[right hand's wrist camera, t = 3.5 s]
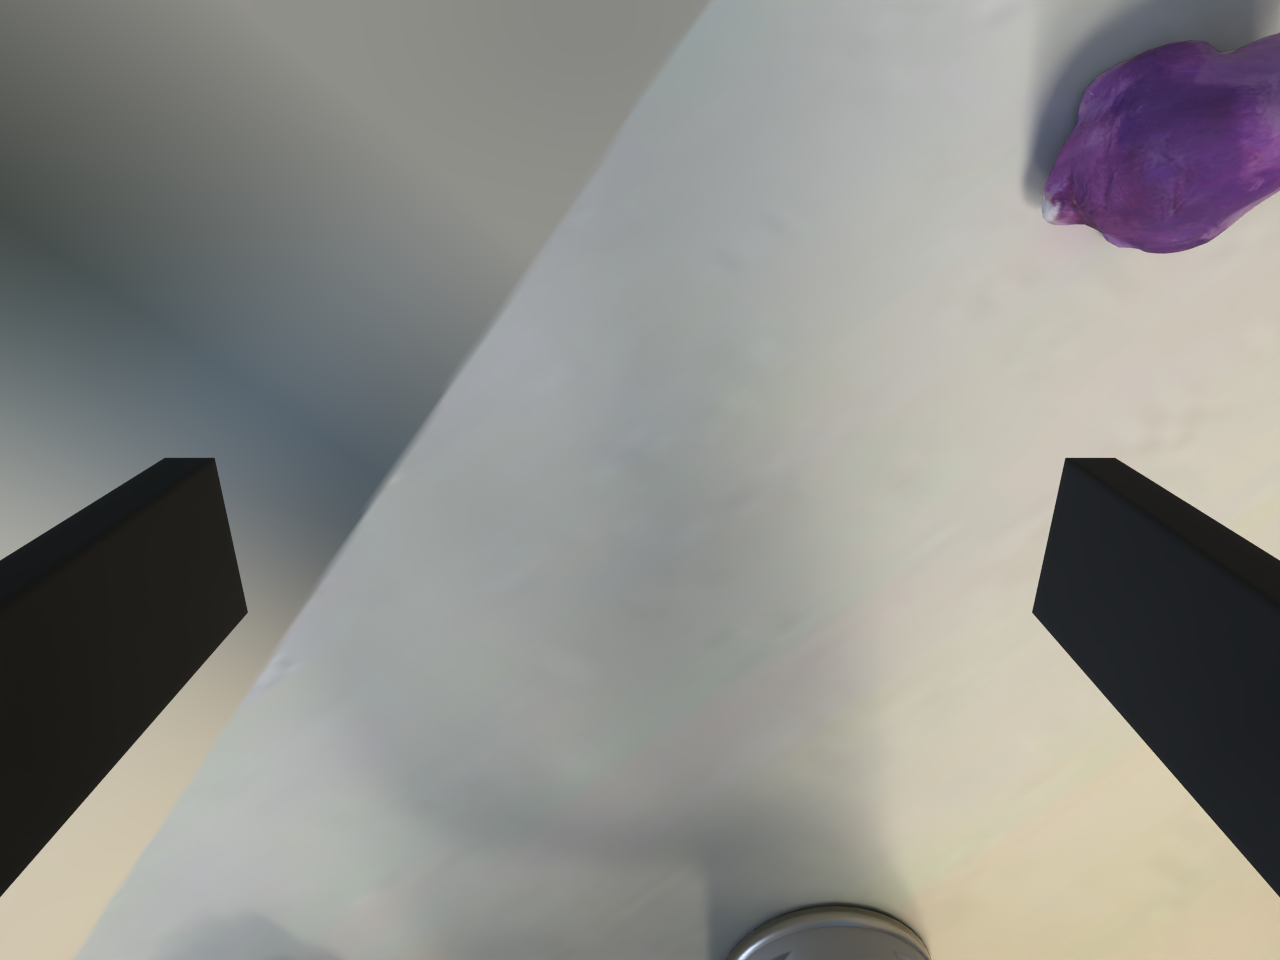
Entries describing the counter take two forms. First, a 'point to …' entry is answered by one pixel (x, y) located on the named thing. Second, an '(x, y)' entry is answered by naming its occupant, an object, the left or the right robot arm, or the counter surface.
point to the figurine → (1172, 146)
